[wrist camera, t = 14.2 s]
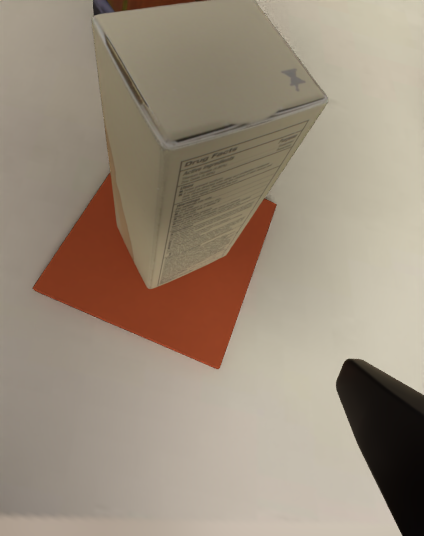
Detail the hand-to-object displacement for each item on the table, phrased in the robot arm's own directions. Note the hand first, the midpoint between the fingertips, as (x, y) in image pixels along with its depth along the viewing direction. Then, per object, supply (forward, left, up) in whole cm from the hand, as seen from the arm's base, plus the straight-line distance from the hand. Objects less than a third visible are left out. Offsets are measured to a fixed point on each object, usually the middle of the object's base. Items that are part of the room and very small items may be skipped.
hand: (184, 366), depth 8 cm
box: (+7, +2, -8) cm, 11 cm away
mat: (+7, +2, -8) cm, 11 cm away
